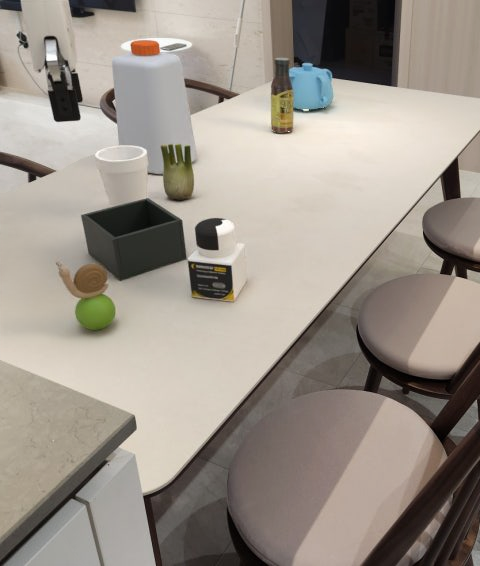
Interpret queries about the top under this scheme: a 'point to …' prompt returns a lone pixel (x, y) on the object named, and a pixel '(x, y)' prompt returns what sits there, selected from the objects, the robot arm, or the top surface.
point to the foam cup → (123, 173)
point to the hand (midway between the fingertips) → (69, 111)
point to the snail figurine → (90, 295)
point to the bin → (134, 237)
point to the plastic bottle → (152, 102)
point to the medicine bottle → (217, 261)
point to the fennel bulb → (177, 172)
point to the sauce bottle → (281, 97)
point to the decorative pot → (311, 87)
